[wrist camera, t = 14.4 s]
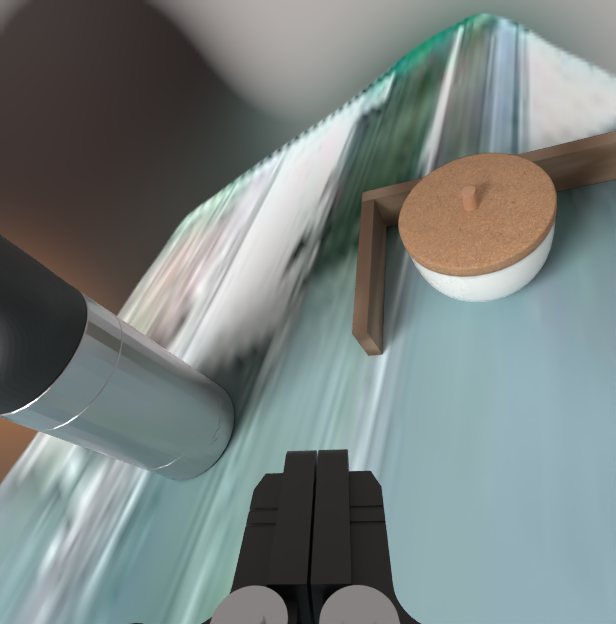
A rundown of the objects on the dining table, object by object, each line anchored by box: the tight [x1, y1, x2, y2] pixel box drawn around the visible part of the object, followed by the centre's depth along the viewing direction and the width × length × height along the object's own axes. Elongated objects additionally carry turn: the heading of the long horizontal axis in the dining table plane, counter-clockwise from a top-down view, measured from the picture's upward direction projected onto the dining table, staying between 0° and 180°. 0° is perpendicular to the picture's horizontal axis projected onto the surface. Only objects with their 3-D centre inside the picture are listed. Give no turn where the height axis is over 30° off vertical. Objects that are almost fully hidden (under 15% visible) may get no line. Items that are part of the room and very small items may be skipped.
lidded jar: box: [399, 153, 557, 302], centre depth 35 cm, size 11×11×9 cm
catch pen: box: [352, 131, 616, 356], centre depth 37 cm, size 22×15×4 cm
